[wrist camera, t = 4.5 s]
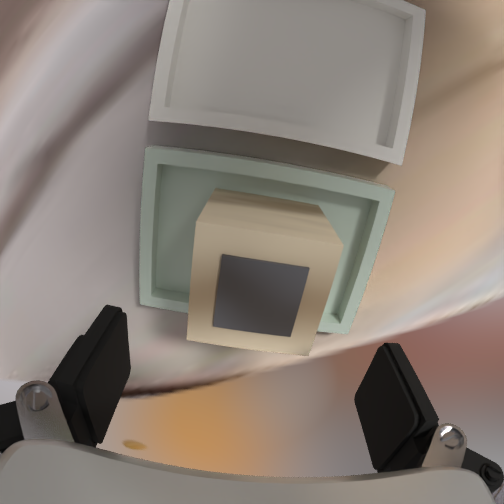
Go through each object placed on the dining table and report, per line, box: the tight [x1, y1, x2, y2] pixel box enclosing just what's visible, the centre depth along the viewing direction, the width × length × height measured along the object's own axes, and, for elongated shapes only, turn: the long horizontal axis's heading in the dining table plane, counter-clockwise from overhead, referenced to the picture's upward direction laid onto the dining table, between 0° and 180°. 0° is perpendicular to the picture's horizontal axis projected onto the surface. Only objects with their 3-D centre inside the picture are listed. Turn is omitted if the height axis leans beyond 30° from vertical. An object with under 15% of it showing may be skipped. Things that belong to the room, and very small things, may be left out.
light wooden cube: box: [187, 188, 344, 356], centre depth 17 cm, size 6×6×6 cm
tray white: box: [148, 0, 426, 166], centre depth 14 cm, size 10×14×2 cm
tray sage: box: [139, 145, 395, 334], centre depth 19 cm, size 10×14×2 cm
